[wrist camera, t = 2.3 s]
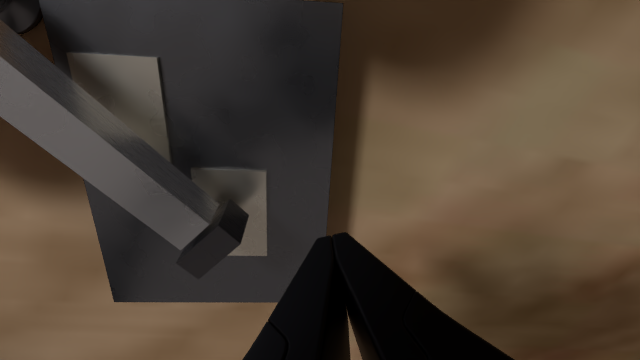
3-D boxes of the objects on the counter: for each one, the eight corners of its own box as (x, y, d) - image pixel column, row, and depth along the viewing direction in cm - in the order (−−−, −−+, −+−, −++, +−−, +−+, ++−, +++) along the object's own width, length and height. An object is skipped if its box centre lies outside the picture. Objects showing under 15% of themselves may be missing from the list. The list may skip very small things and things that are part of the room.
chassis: (319, 280, 22) (321, 305, 20) (130, 278, 21) (112, 304, 19) (338, 7, 15) (343, 2, 13) (67, -11, 14) (30, -19, 12)
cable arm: (256, 190, 18) (240, 244, 13) (224, 219, 19) (198, 279, 14) (-33, -71, 13) (-224, -133, 8) (-65, -20, 13) (-259, -51, 9)
